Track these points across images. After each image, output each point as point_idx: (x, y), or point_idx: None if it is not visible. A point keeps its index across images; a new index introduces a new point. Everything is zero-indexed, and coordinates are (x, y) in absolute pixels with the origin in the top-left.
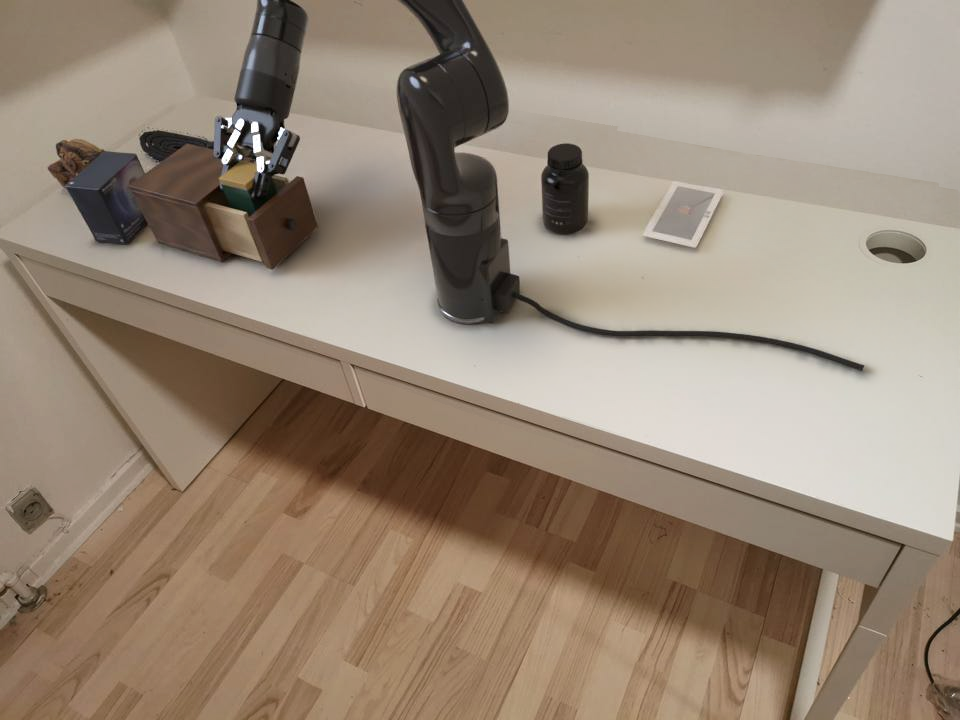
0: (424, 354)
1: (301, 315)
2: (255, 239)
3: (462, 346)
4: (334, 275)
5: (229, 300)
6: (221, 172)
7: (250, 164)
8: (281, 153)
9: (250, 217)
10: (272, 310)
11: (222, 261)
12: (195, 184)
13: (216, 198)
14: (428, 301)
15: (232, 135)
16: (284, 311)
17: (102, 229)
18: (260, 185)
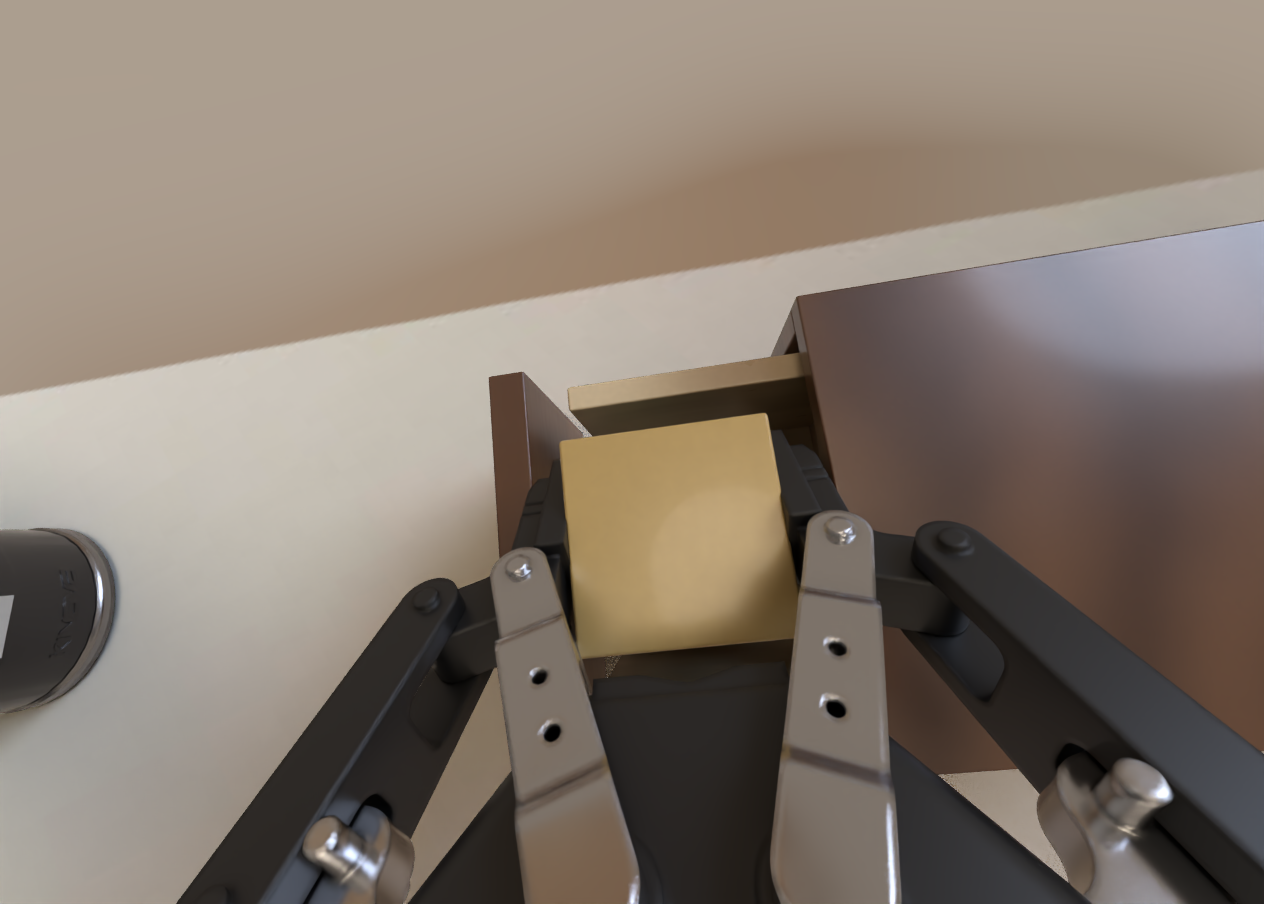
0: (85, 417)
1: (396, 365)
2: (552, 403)
3: (22, 476)
4: (410, 523)
5: (601, 308)
6: None
7: (700, 621)
8: (330, 704)
9: (516, 384)
10: (473, 341)
11: None
12: (961, 403)
13: None
14: (140, 561)
15: (875, 693)
16: (443, 354)
17: None
18: (533, 514)
